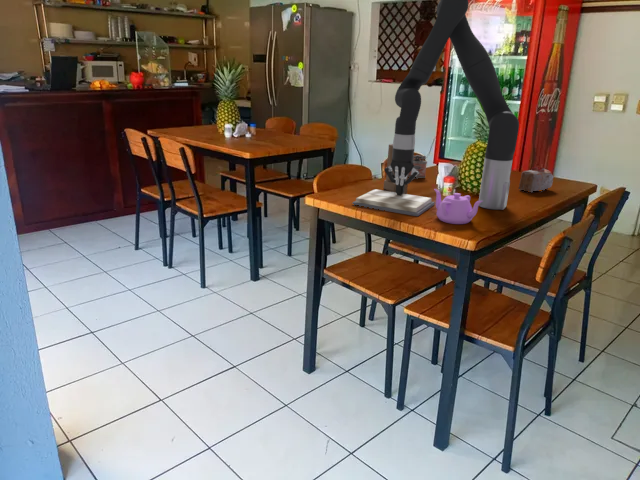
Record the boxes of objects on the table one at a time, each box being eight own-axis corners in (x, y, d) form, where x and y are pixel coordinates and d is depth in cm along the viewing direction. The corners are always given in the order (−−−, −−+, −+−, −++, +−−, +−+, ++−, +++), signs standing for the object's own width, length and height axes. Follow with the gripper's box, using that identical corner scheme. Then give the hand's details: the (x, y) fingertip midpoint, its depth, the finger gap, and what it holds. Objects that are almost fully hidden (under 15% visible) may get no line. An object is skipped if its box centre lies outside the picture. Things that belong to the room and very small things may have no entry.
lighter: (407, 177, 222) (409, 155, 218) (407, 176, 225) (409, 154, 222) (425, 178, 221) (427, 156, 217) (425, 177, 224) (427, 155, 220)
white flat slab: (423, 207, 172) (424, 202, 171) (416, 212, 165) (416, 208, 165) (365, 197, 182) (365, 193, 181) (356, 202, 175) (356, 198, 175)
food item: (535, 186, 213) (539, 163, 210) (552, 190, 207) (557, 167, 204) (516, 190, 206) (520, 166, 202) (533, 194, 199) (537, 170, 196)
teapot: (431, 213, 168) (434, 188, 165) (473, 216, 167) (476, 190, 164) (435, 224, 157) (438, 196, 154) (480, 226, 156) (484, 199, 153)
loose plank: (431, 202, 179) (431, 197, 178) (424, 206, 172) (424, 202, 171) (374, 193, 189) (375, 189, 188) (365, 197, 182) (366, 193, 182)
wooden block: (399, 195, 191) (403, 148, 185) (383, 189, 200) (386, 143, 194) (407, 194, 193) (411, 147, 187) (390, 188, 201) (394, 143, 195)
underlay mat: (434, 204, 179) (434, 201, 179) (417, 216, 164) (418, 213, 164) (373, 194, 190) (373, 192, 190) (352, 205, 175) (352, 202, 175)
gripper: (425, 147, 175) (420, 195, 181) (390, 143, 181) (386, 190, 187) (418, 150, 169) (413, 199, 175) (382, 146, 175) (378, 194, 181)
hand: (399, 194), depth 181 cm, fingers closed
